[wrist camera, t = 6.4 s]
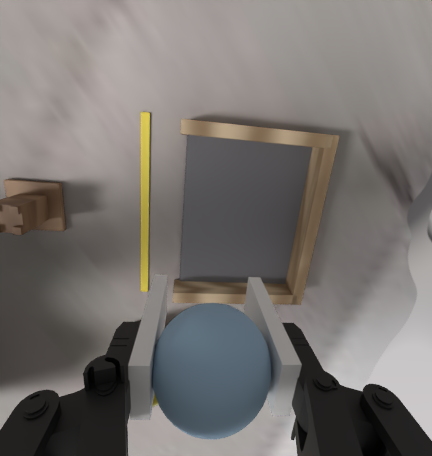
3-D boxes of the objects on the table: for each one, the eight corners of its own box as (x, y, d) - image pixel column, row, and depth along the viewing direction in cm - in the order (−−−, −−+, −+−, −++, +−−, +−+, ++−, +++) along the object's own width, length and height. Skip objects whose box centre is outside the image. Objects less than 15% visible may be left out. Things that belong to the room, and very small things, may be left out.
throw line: (140, 290, 38) (140, 291, 37) (141, 112, 30) (140, 111, 30) (147, 290, 38) (147, 291, 38) (149, 112, 30) (149, 112, 30)
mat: (179, 279, 38) (179, 281, 37) (187, 134, 31) (187, 134, 31) (284, 282, 40) (285, 283, 39) (311, 147, 34) (312, 147, 33)
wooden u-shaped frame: (174, 288, 38) (172, 302, 35) (181, 120, 31) (181, 118, 28) (291, 291, 40) (301, 304, 37) (324, 136, 33) (339, 135, 30)
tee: (15, 226, 33) (-24, 246, 27) (8, 179, 31) (-36, 188, 25) (65, 229, 34) (39, 248, 27) (61, 182, 32) (31, 193, 26)
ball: (159, 361, 14) (141, 476, 9) (159, 280, 12) (138, 368, 8) (250, 361, 14) (277, 469, 10) (262, 282, 13) (301, 367, 8)
